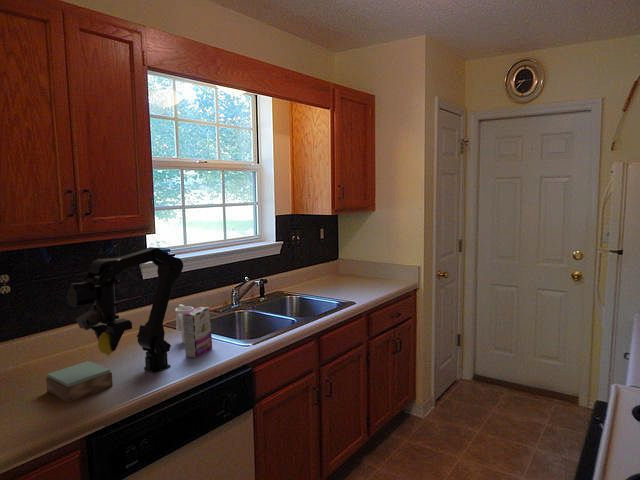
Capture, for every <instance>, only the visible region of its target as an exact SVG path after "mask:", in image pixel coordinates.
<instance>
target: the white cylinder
mask: <svg viewBox="0 0 640 480" xmlns="http://www.w3.org/2000/svg"><path fill="white" fill-rule="evenodd" d="M194 309H195V308H194V307H193V306H190V305H189V306H188V305H187V306H185V305H184V304H181V303H180V304H178V307H176V308H175V318H176V319H175V321H176V323H175V324H176V326H175V328H176V329H175V330H176V331H177V332H181V344H185V338H184V324H183V314H185V313H187V312H189V311H191V310H194Z"/></svg>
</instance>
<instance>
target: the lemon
mask: <svg viewBox="0 0 640 480" xmlns="http://www.w3.org/2000/svg"><path fill="white" fill-rule="evenodd" d="M107 331H108V330H107ZM97 343H98V344H97V346H98V351H100V352H101V353H102V354H105V355H107V356H110V355H111V354H112V353H114V352H115V351H112V350H111V346H110V341H109V336H108V335H107V334H106V333H105V332H104V333H102V334H101V335H100V337H99V340H98V339H97Z"/></svg>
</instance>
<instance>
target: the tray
mask: <svg viewBox="0 0 640 480" xmlns="http://www.w3.org/2000/svg"><path fill="white" fill-rule="evenodd" d="M112 373H113V372H112V371H110V373H107V374H105V375H102V376H99V377H96V378H93V379H90V380H87V381H85V382H82V383H79V384H76V385H73V386H70V387H67V386H65V385H63V384H60V383H58V382H56V381H54V380H52V379H50V378H48V377H46V378H45V384H46V392H47V393H48V394H50V395H52V396H54V397H56V398H58V399H59V400H61V401H63V402H65V403H67V404H69V403H71V402H74V401H77V400H79V399H82V398H85V397H87V396H89V395H93V394H96V393H98V392H101V391H103V390H106V389H108V388H112V387H114V385H113V384H114V383H113V374H112Z"/></svg>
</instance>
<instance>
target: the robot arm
mask: <svg viewBox="0 0 640 480" xmlns="http://www.w3.org/2000/svg"><path fill="white" fill-rule="evenodd" d="M148 262H149V263H150V262H152V263H153V264H154V265H155V266H157V270H156V272H157V276H158V283H157V287H156V291H155V295H154V297H153V298H154V299H153V301H152V306H151V310H150V313H149V315H148V320H147V322H146V323H145V324H144V325H142V324H141V325H139V328H138V333H137V335H136V337H137V343H138V345H139V346H140V347H141V348H142V351H146V352H145V357H144V359H145V361H144V362H145V366H144V367H143V369H144V370H146V371H150V372H152V373H158V372H161V371H163V370H166V369H168V368H170V367H171V364H168V361H169V360H168V352H170V350H171V347H172V346H171V344H170V343H169V342H168V341H166V340H165V335H166V334H165V328H164V321H165V316H166V313H167V310H168V306H169V301H170V298H171V295H172V290H173V287H174V283H176V281H177V280H178V279H179V278H180V277H181V273H182V271H183V268H184V263H183V261H182V259H181V258H179V257H175V256H173V255H171V254H169V253H167V252H165V251H163V249H161V248H159V247H154V246H149V247H147V248H145V249H141V250H138V251H134V252H132V253H128V254H126V255H122V256H119V257H114V258H110V257H109V258H99V259H95V260H93V261H91V264H90V266H89V270H88V272H87V273H86V275H85V276H84V278H83V280H82V282H74V283H73V282H72V283H70V284H69V287H70V288H68V290H67V292H66V293H67V294H66V301H67V303H68V305H69V306H70V307H71V308H75V307H80V306H85V305H89V304H91V308H90V310H88V311H86V312H85V313H82V314H81V315H80V316H78V317H76V319H75V321H76V323H77V325H78V327H79V329H80V330H81V329H83V330H85V331H88V330H91V331H93V333H94V334H95V337H96V338H97V341H98V340H99V337H100V335H101V334H102V333H104V332H105V333H106V334H107V335H108V336H109V341H110V346H111V350H112V351H114V352H115V351H116V349H118V348H117V347H118V346H119V343H120V340H121V338H122V336H123V335H124V333H125V332H126V331H129V330H132V329H133V321H131V320H129V319H126V318H120V315H119V314H117V311H116V310H117V308H116V307H118V306H119V302H117V301H116V293H115V292H116V291H115V290H116V289H115V286H116V285H121V284H122V282H121V281H120V280H119V279H117V277H118V276H120V275H121V274H122V273H123V272H124V271H126V270H128V269H131V268H134V267H136V266H140V265H144V264H146V263H148ZM107 330H108V331H107Z"/></svg>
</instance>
